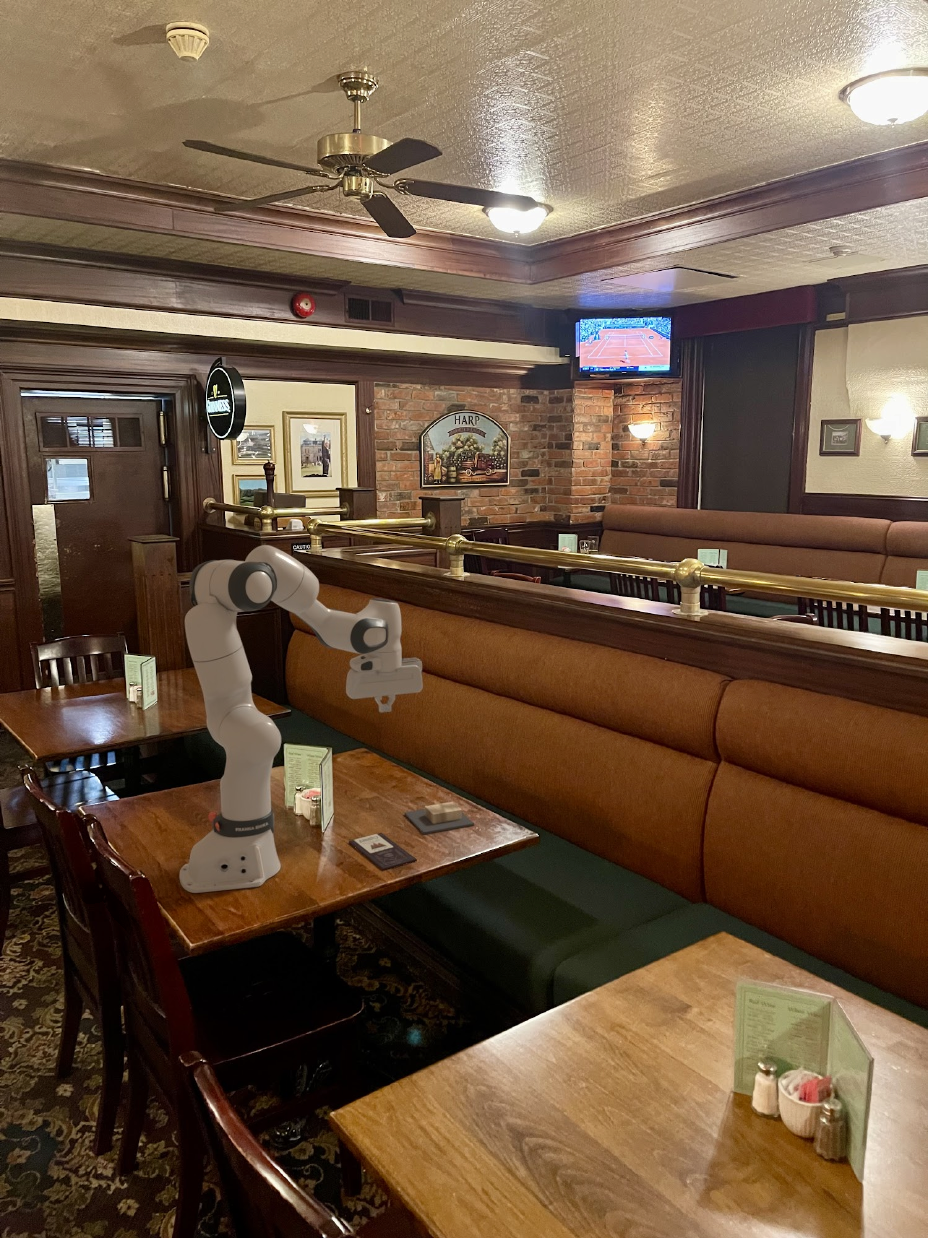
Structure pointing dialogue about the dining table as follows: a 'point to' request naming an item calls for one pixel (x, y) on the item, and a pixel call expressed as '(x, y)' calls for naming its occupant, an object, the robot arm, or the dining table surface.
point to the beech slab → (443, 812)
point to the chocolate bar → (382, 851)
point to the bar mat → (428, 827)
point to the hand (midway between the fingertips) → (385, 711)
